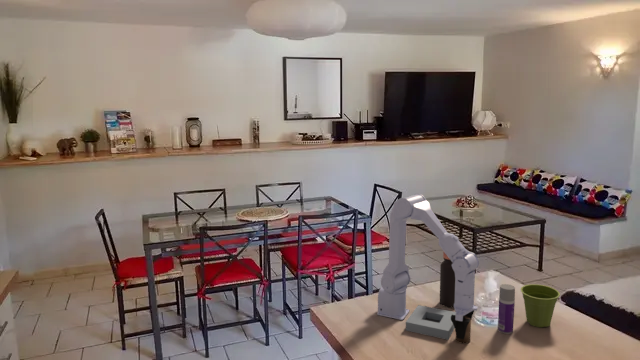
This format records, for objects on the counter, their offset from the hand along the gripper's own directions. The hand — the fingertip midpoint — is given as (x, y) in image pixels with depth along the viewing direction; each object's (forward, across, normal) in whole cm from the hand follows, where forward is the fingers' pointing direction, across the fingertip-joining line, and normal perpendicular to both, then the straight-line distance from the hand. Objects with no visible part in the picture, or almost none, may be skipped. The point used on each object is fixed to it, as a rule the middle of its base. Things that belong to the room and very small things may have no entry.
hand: (463, 332), depth 150 cm
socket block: (+2, +5, +11) cm, 12 cm away
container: (+3, +12, -11) cm, 16 cm away
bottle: (+3, +24, +10) cm, 26 cm away
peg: (+2, 0, 0) cm, 2 cm away
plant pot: (+3, +22, -20) cm, 30 cm away
